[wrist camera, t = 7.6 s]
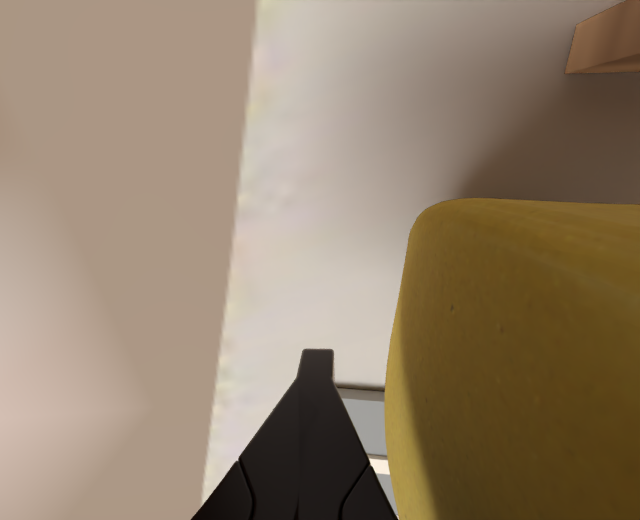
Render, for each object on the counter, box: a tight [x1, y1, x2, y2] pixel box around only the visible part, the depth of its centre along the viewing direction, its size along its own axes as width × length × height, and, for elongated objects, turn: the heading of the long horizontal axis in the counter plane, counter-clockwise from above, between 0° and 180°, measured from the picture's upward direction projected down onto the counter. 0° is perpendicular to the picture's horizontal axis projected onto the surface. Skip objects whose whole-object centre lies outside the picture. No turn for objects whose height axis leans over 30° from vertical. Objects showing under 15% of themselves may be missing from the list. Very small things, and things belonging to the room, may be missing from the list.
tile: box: [337, 388, 398, 515], centre depth 16 cm, size 8×8×1 cm
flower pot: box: [384, 198, 640, 520], centre depth 7 cm, size 9×9×9 cm
